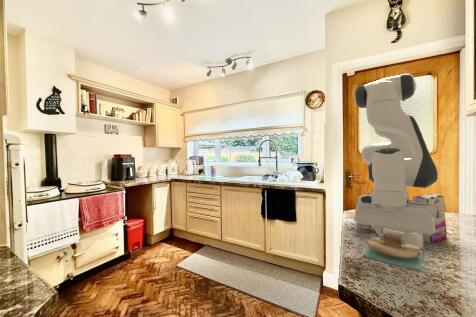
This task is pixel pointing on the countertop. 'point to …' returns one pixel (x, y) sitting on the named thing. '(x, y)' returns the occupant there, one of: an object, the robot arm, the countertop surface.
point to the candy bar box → (438, 218)
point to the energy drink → (363, 226)
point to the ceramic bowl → (413, 238)
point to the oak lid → (394, 246)
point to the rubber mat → (395, 259)
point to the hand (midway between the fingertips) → (392, 242)
